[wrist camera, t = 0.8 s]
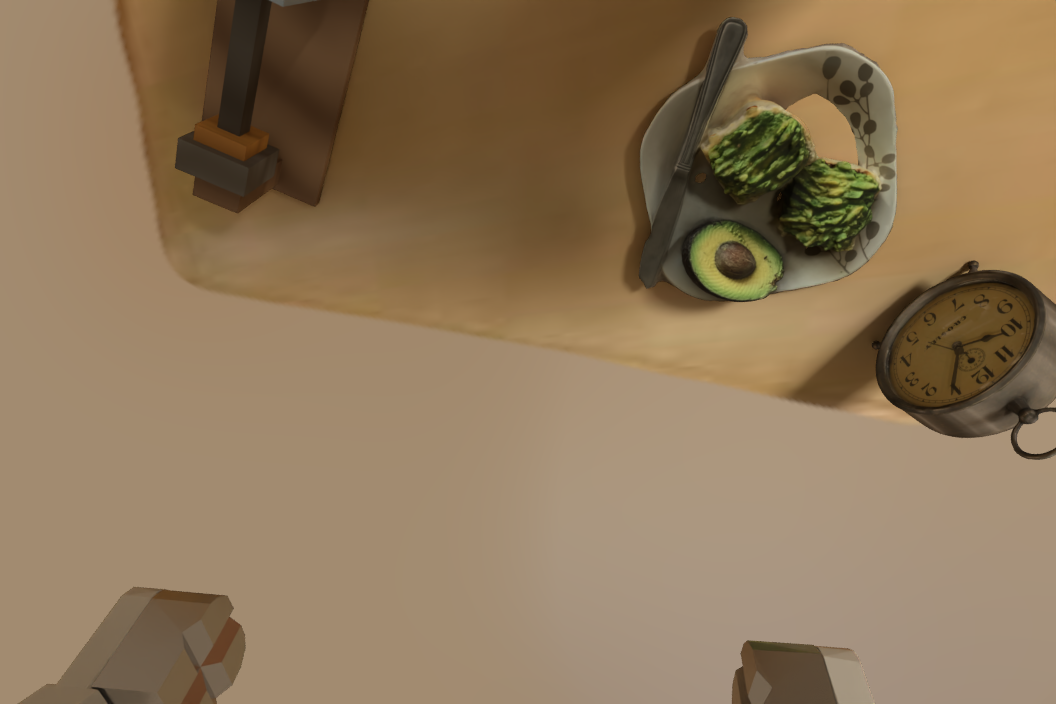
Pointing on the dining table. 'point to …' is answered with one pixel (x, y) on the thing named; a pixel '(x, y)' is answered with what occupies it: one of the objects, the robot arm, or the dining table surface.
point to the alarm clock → (973, 356)
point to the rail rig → (272, 99)
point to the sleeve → (290, 2)
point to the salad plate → (766, 173)
